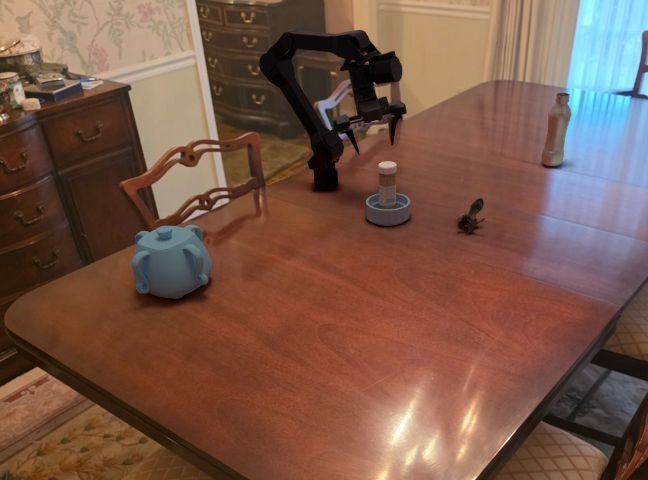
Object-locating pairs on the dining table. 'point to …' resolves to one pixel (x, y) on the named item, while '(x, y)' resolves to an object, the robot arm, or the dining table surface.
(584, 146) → the dining table surface
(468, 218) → the eagle figurine
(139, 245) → the decorative pot
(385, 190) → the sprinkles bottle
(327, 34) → the robot arm
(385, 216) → the bowl
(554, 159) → the plastic bottle
